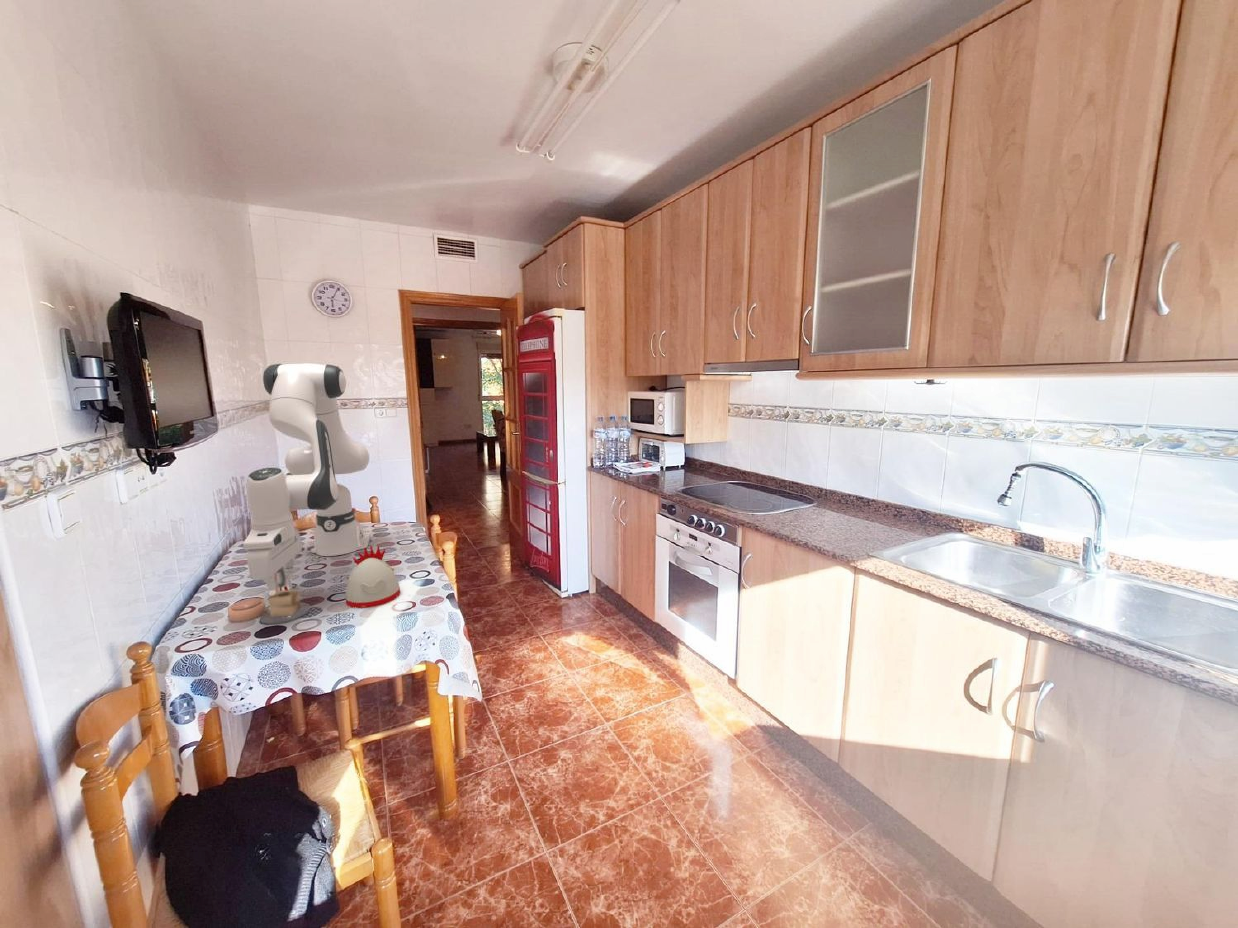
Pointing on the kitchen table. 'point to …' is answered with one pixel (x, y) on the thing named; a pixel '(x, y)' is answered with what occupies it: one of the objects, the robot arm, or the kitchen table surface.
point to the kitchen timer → (371, 581)
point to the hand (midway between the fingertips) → (281, 581)
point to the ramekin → (246, 610)
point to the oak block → (284, 603)
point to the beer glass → (282, 581)
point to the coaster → (299, 613)
